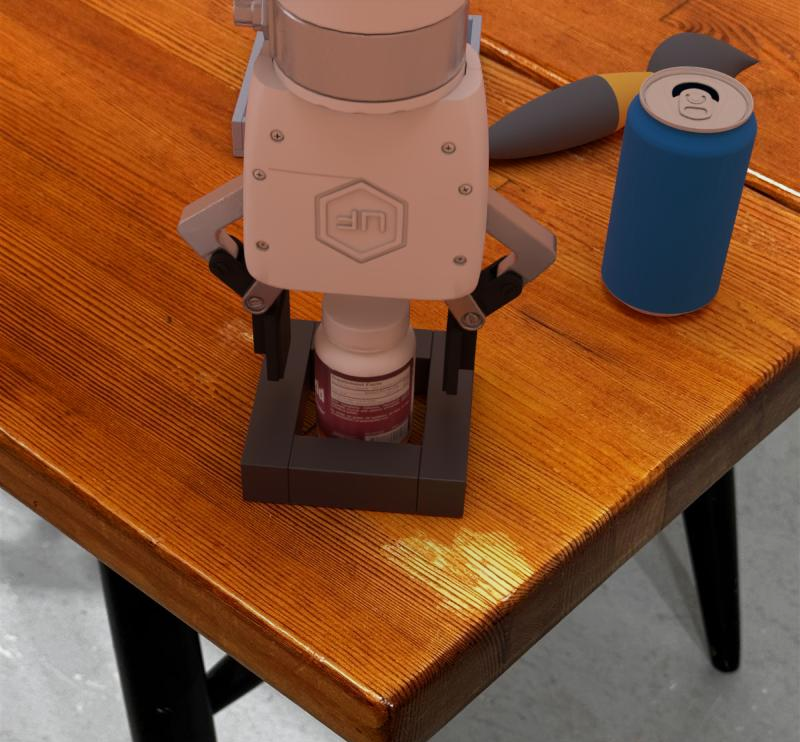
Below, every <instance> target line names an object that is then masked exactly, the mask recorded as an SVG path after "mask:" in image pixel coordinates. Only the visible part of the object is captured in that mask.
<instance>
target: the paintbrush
mask: <svg viewBox="0 0 800 742" xmlns="http://www.w3.org/2000/svg"><path fill="white" fill-rule="evenodd" d="M760 62H761V60H760V59H757V58H755V57H753V56H751V55H750V54H748V53H746V52H744V51H743V50H741V49H739V48H737V47H735V46H733V45H731V44H729V43H727V42H725V41H723V40H721V39H718V38H716V37H714V36H710V35H706V34H704V33H698V32H691V31H690V32H689V31H688V32H685V31H684V32H679V33H675V34H672V35H671V36H669V37H667V38H666V39H664V40H663V41H662V42H661V43H660V44H659V45H658V46H657V47H656V48H655V49H654V51H653V53H652V54H651V56H650V58H649V61H648V63H647V68H646V71H623V72H609V73H599V74H594V75H590V76H589V75H588V76H587V77H583V78H580V79H577V80H575V81H571V82H569V83H566V84H564V85H562V86H559V87H557V88H555V89H551V90H550V91H547V92H546V93H543V94H541V95H539V96H537V97H535V98H533V99H532V100H530V101H527V102H525V103H524V104H522V105H520V106H519V107H517V108H515V109H514V110H512V111H511V112H509V113H507V114H506V115H504V116H503V117H501V118H500V119H498V120H497V121H495V122H494V123H493V124H492V125H490V126H488V136H489V159H491V160H492V159H493V160H512V159H513V160H515V159H523V158H529V157H535V156H537V157H538V156H543V155H547V154H552V153H556V152H560V151H561V152H562V151H564V150H569V149H573V148H575V147H579V146H582V145H585V144H588V143H591V142H594V141H597V140H599V139H603V138H605V137H607V136H609V135H612V134H614V133H616V132H618V131H619V130H620V129H622V128H624V127H625V122H626V116H627V110H628V107H629V105H630V103H631V101H632V100H633V99H634V97H635V96H636V95H637V94H638V93H639V91H640V87H641V85H642V83H643V82H644V80H645V79H647V78H648V77H649V76H650V75H652V74H654V73H656V72H658V71H661V70H664V69H668V68H673V67H700V68H706V69H711V70H715V71H718V72H721V73H724V74H726V75H728V76H731V77H732V78H734V79H736V77H737V76H739V75H740V74H741V73H742V72H744V71H746V70H747V69H749V68H751V67H752V66H755V65H757V64H758V63H760Z"/></svg>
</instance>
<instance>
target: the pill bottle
mask: <svg viewBox="0 0 800 742" xmlns="http://www.w3.org/2000/svg"><path fill="white" fill-rule="evenodd" d="M410 300H411V299H398V298H384V297H370V296H357V295H344V294H331V293H323V295H322V299H321V317H320V321H321V323H320V325H319V326H318V329H317V331H316V334H315V338H314V356H315V385H314V390H315V393H314V395H315V396H314V397H315V398H314V400H315V426H316V428H315V429H316V434H317V437H327V438H340V439H352V440H365V441H377V442H390V443H402V444H408V442H409V440H410V438H411V435H412V431H413V422H414V421H413V419H414V418H413V415H414V400H415V399H414V398H415V397H414V396H415V393H414V378H415V360H416V337H415V333H414V330H413V328H414V327H413V326H412V325H411V301H410Z"/></svg>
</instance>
